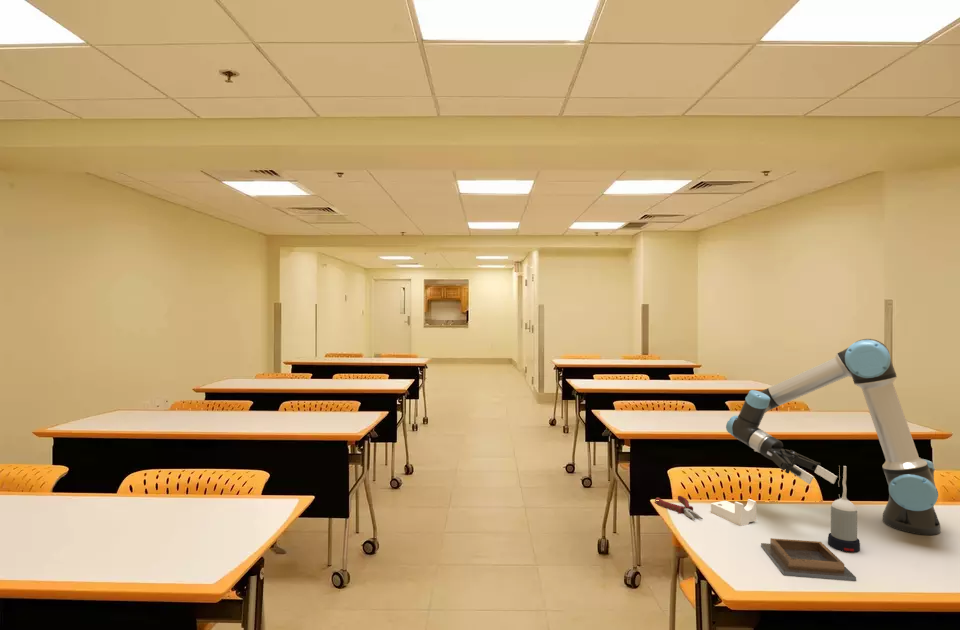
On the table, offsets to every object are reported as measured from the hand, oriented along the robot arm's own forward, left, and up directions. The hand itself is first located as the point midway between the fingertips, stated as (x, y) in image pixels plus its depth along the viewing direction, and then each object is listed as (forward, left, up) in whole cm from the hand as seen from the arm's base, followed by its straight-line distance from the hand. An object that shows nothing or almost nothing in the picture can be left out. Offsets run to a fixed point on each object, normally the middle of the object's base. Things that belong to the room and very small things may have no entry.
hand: (823, 480), depth 171 cm
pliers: (+43, -15, -19) cm, 49 cm away
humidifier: (-2, +8, -18) cm, 20 cm away
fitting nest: (+14, +21, -18) cm, 31 cm away
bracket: (+24, -11, -18) cm, 32 cm away
